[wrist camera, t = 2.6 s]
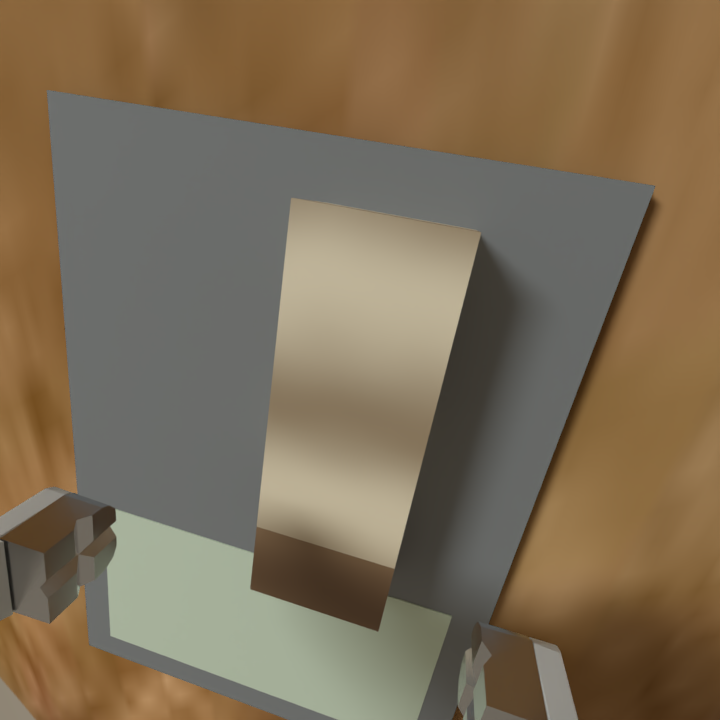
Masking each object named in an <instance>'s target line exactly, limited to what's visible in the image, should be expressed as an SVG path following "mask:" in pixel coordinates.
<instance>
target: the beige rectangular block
mask: <svg viewBox="0 0 720 720" xmlns="http://www.w3.org/2000/svg"><path fill="white" fill-rule="evenodd" d="M480 236H481V232H479V231H477V230H474V229H468V228H463V227H457V226H452V225H446V224H441V223H435V222H430V221H424V220H419V219H413V218H408V217H402V216H397V215H391V214H386V213H381V212H375V211H370V210H364V209H359V208H353V207H348V206H342V205H337V204H331V203H326V202H319V201H312V200H304V199H297V198H291V204H290V213H289V223H288V232H287V242H286V251H285V261H284V270H283V280H282V290H281V299H280V309H279V318H278V328H277V337H276V347H275V356H274V366H273V375H272V385H271V394H270V404H269V413H268V423H267V432H266V442H265V451H264V461H263V471H262V480H261V490H260V499H259V509H258V518H257V528H256V537H255V547H254V556H253V566H252V575H251V585H250V589H251V590H254V591H257V592H260V593H263V594H266V595H269V596H272V597H275V598H278V599H281V600H284V601H287V602H290V603H293V604H296V605H299V606H302V607H305V608H308V609H311V610H314V611H317V612H320V613H323V614H326V615H329V616H332V617H335V618H338V619H341V620H344V621H347V622H350V623H353V624H356V625H359V626H362V627H365V628H368V629H371V630H374V631H377V632H378V631H379V627H380V624H381V620H382V616H383V612H384V608H385V604H386V600H387V596H388V593H389V589H390V585H391V581H392V577H393V573H394V569H395V565H396V561H397V558H398V554H399V550H400V546H401V542H402V538H403V534H404V530H405V527H406V523H407V519H408V515H409V511H410V507H411V503H412V499H413V496H414V492H415V488H416V484H417V480H418V476H419V472H420V468H421V465H422V461H423V457H424V453H425V449H426V445H427V441H428V437H429V434H430V430H431V426H432V422H433V418H434V414H435V410H436V406H437V402H438V399H439V395H440V391H441V387H442V383H443V379H444V375H445V371H446V368H447V364H448V360H449V356H450V352H451V348H452V344H453V340H454V337H455V333H456V329H457V325H458V321H459V317H460V313H461V309H462V306H463V302H464V298H465V294H466V290H467V286H468V282H469V278H470V275H471V271H472V267H473V263H474V259H475V255H476V251H477V247H478V243H479V240H480Z"/></svg>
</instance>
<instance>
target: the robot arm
mask: <svg viewBox="0 0 720 720" xmlns="http://www.w3.org/2000/svg"><path fill="white" fill-rule="evenodd" d="M115 522H116V510H115V508H113V507H111V506H110V505H107V504H104V503H101V502H98V501H95V500H92V499H90V498H87V497H84V496H81V495H78V494H75V493H71V492H68V491H65V490H63V489H60V488H57V487H51V488H46V489H44V490H42V491H41V492H39V493H38V494H36V495H34V496H33V497H31V498H30V499H28V500H26V501H25V502H23V503H22V504H20V505H18V506H17V507H15V508H13V509H12V510H10V511H9V512H7V513H5V514H4V515H2V516H1V517H0V620H2V619H4V618H6V617H8V616H10V615H12V614H13V612H16V613H19V614H22V615H25V616H28V617H31V618H34V619H37V620H40V621H43V622H46V623H49V624H50V623H51V622H52V621H53V620H54V619H55V618H56V617H57V616H58V615H60V614H61V613H62V612H63V611H64V610H65V609H66V608H67V607H68V606H69V605H70V604H71V603H72V602H73V601H74V600H75V599H76V598H77V597H78V593H79V589H80V586H82V585H85V584H87V583H89V582H92V581H94V580H96V579H97V578H98V577H99V576H100V575H101V574H102V573H103V572H104V571H105V570H106V568H107V566H108V565H109V563H110V561H111V560H112V558H113V556H114V553H115V549H116V546H117V537H116V535H115V533H114V532H113V530H112V528H111V526H112V525H113V524H114V523H115ZM471 644H472V648H470V649H468V650H466V651H465V654H464V657H463V660H462V663H461V669H460V675H459V682H458V708H459V709H460V711H461V713H462V715H463V720H578V716H577V712H576V708H575V705H574V701H573V697H572V693H571V689H570V685H569V682H568V678H567V674H566V670H565V666H564V662H563V659H562V655H561V651H560V650H559V648H558V647H557V645H554V644H551V643H547V642H544V641H541V640H538V639H534V638H531V637H527V636H525V635H522V634H518V633H515V632H512V631H509V630H505V629H502V628H499V627H495V626H492V625H489V624H485V623H482V622H479V621H478V622H477V623H476V624H475V626H474V628H473V631H472V634H471Z"/></svg>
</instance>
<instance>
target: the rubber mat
mask: <svg viewBox="0 0 720 720" xmlns="http://www.w3.org/2000/svg"><path fill="white" fill-rule="evenodd" d="M47 98H48V111H49V124H50V137H51V150H52V163H53V176H54V189H55V202H56V216H57V229H58V242H59V255H60V268H61V281H62V294H63V307H64V321H65V334H66V347H67V360H68V373H69V386H70V399H71V412H72V426H73V439H74V452H75V465H76V478H77V491H78V495H81V496H84V497H87V498H90V499H92V500H95V501H98V502H101V503H104V504H107V505H110V506H111V507H113V508H115V510H116V522H115V523H114V524H113V525H112V526H111V528H112V530H113V532H114V533H115V535H116V537H117V546H116V549H115V553H114V556H113V558H112V560H111V561H110V563H109V565H108V566H107V568H106V570H105V571H104V572H103V573H102V574H101V575H100V576H99V577H98V578H97V579H96V580H94V581H92V582H89V583H87V584H85V596H86V609H87V622H88V636H89V645H91V646H93V647H96V648H99V649H101V650H104V651H107V652H109V653H112V654H115V655H117V656H120V657H123V658H125V659H128V660H131V661H133V662H136V663H139V664H141V665H144V666H147V667H149V668H152V669H155V670H157V671H160V672H163V673H165V674H168V675H171V676H173V677H176V678H179V679H181V680H184V681H187V682H189V683H192V684H195V685H197V686H200V687H203V688H205V689H208V690H211V691H213V692H216V693H219V694H221V695H224V696H227V697H229V698H232V699H235V700H237V701H240V702H243V703H245V704H248V705H251V706H253V707H256V708H259V709H261V710H264V711H267V712H269V713H272V714H275V715H277V716H280V717H283V718H285V719H288V720H452V718H453V716H454V713H455V711H456V708H457V705H458V682H459V675H460V669H461V663H462V660H463V657H464V654H465V651H466V650H468V649H470V648H472V644H471V634H472V631H473V628H474V626H475V624H476V623H477V622H478V621H479V622H482V623H485V624H489V621H490V619H491V616H492V613H493V611H494V608H495V606H496V603H497V600H498V598H499V595H500V592H501V590H502V587H503V585H504V582H505V579H506V577H507V574H508V571H509V569H510V566H511V564H512V561H513V558H514V556H515V553H516V550H517V548H518V545H519V543H520V540H521V537H522V535H523V532H524V530H525V527H526V524H527V522H528V519H529V516H530V514H531V511H532V509H533V506H534V503H535V501H536V498H537V495H538V493H539V490H540V488H541V485H542V482H543V480H544V477H545V474H546V472H547V469H548V467H549V464H550V461H551V459H552V456H553V453H554V451H555V448H556V446H557V443H558V440H559V438H560V435H561V432H562V430H563V427H564V425H565V422H566V419H567V417H568V414H569V411H570V409H571V406H572V404H573V401H574V398H575V396H576V393H577V390H578V388H579V385H580V383H581V380H582V377H583V375H584V372H585V369H586V367H587V364H588V362H589V359H590V356H591V354H592V351H593V348H594V346H595V343H596V341H597V338H598V335H599V333H600V330H601V328H602V325H603V322H604V320H605V317H606V314H607V312H608V309H609V307H610V304H611V301H612V299H613V296H614V293H615V291H616V288H617V286H618V283H619V280H620V278H621V275H622V272H623V270H624V267H625V265H626V262H627V259H628V257H629V254H630V251H631V249H632V246H633V244H634V241H635V238H636V236H637V233H638V230H639V228H640V225H641V223H642V220H643V217H644V215H645V212H646V209H647V207H648V204H649V202H650V199H651V196H652V194H653V191H654V188H655V186H653V185H646V184H640V183H634V182H627V181H621V180H615V179H608V178H602V177H596V176H589V175H583V174H577V173H570V172H564V171H558V170H551V169H545V168H539V167H532V166H526V165H519V164H513V163H507V162H500V161H494V160H488V159H481V158H475V157H469V156H462V155H456V154H450V153H443V152H437V151H431V150H424V149H418V148H411V147H405V146H399V145H392V144H386V143H380V142H373V141H367V140H361V139H354V138H348V137H342V136H335V135H329V134H323V133H316V132H310V131H304V130H297V129H291V128H284V127H278V126H272V125H265V124H259V123H253V122H246V121H240V120H234V119H227V118H221V117H215V116H208V115H202V114H196V113H189V112H183V111H176V110H170V109H164V108H157V107H151V106H145V105H138V104H132V103H126V102H119V101H113V100H107V99H100V98H94V97H88V96H81V95H75V94H69V93H62V92H56V91H49V90H47ZM291 198H297V199H304V200H312V201H319V202H326V203H331V204H337V205H342V206H348V207H353V208H359V209H364V210H370V211H375V212H381V213H386V214H391V215H397V216H402V217H408V218H413V219H419V220H424V221H430V222H435V223H441V224H446V225H452V226H457V227H463V228H468V229H474V230H477V231H479V232H481V236H480V240H479V243H478V247H477V251H476V255H475V259H474V263H473V267H472V271H471V275H470V278H469V282H468V286H467V290H466V294H465V298H464V302H463V306H462V309H461V313H460V317H459V321H458V325H457V329H456V333H455V337H454V340H453V344H452V348H451V352H450V356H449V360H448V364H447V368H446V371H445V375H444V379H443V383H442V387H441V391H440V395H439V399H438V402H437V406H436V410H435V414H434V418H433V422H432V426H431V430H430V434H429V437H428V441H427V445H426V449H425V453H424V457H423V461H422V465H421V468H420V472H419V476H418V480H417V484H416V488H415V492H414V496H413V499H412V503H411V507H410V511H409V515H408V519H407V523H406V527H405V530H404V534H403V538H402V542H401V546H400V550H399V554H398V558H397V561H396V565H395V569H394V573H393V577H392V581H391V585H390V589H389V593H388V596H387V600H386V604H385V608H384V612H383V616H382V620H381V624H380V627H379V631H378V632H377V631H374V630H371V629H368V628H365V627H362V626H359V625H356V624H353V623H350V622H347V621H344V620H341V619H338V618H335V617H332V616H329V615H326V614H323V613H320V612H317V611H314V610H311V609H308V608H305V607H302V606H299V605H296V604H293V603H290V602H287V601H284V600H281V599H278V598H275V597H272V596H269V595H266V594H263V593H260V592H257V591H254V590H251V589H250V585H251V575H252V566H253V556H254V547H255V537H256V528H257V518H258V509H259V499H260V490H261V480H262V471H263V461H264V451H265V442H266V432H267V423H268V413H269V404H270V394H271V385H272V375H273V366H274V356H275V347H276V337H277V328H278V318H279V309H280V299H281V290H282V280H283V270H284V261H285V251H286V242H287V232H288V223H289V213H290V204H291Z"/></svg>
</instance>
